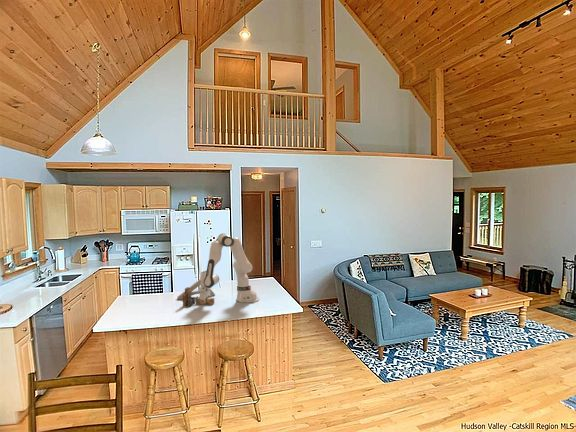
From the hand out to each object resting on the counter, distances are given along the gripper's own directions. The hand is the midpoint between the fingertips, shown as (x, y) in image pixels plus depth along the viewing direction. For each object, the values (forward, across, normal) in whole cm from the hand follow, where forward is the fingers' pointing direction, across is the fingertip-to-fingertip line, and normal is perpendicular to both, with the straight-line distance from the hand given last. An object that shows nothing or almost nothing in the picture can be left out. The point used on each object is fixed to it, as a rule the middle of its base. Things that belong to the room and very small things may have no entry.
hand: (205, 301), depth 317 cm
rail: (+2, 0, 0) cm, 2 cm away
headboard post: (+2, +3, -15) cm, 15 cm away
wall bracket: (+2, -21, -17) cm, 27 cm away
